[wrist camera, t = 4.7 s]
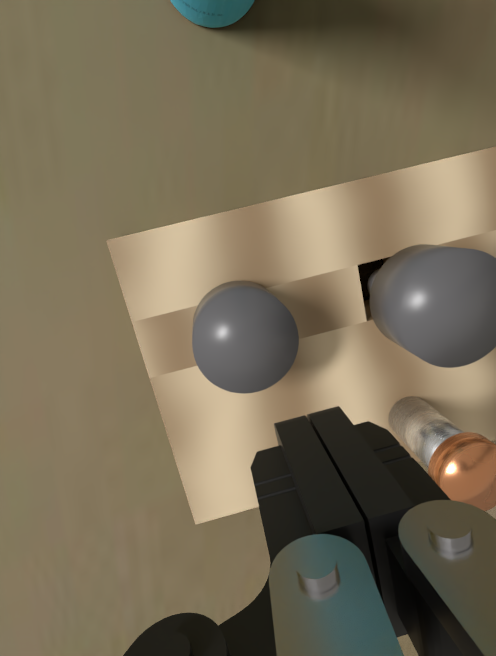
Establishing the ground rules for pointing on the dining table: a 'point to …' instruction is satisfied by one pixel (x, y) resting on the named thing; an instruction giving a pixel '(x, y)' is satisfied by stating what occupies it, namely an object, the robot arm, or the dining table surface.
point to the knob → (243, 337)
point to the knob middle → (437, 303)
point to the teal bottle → (213, 11)
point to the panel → (303, 315)
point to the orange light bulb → (448, 452)
